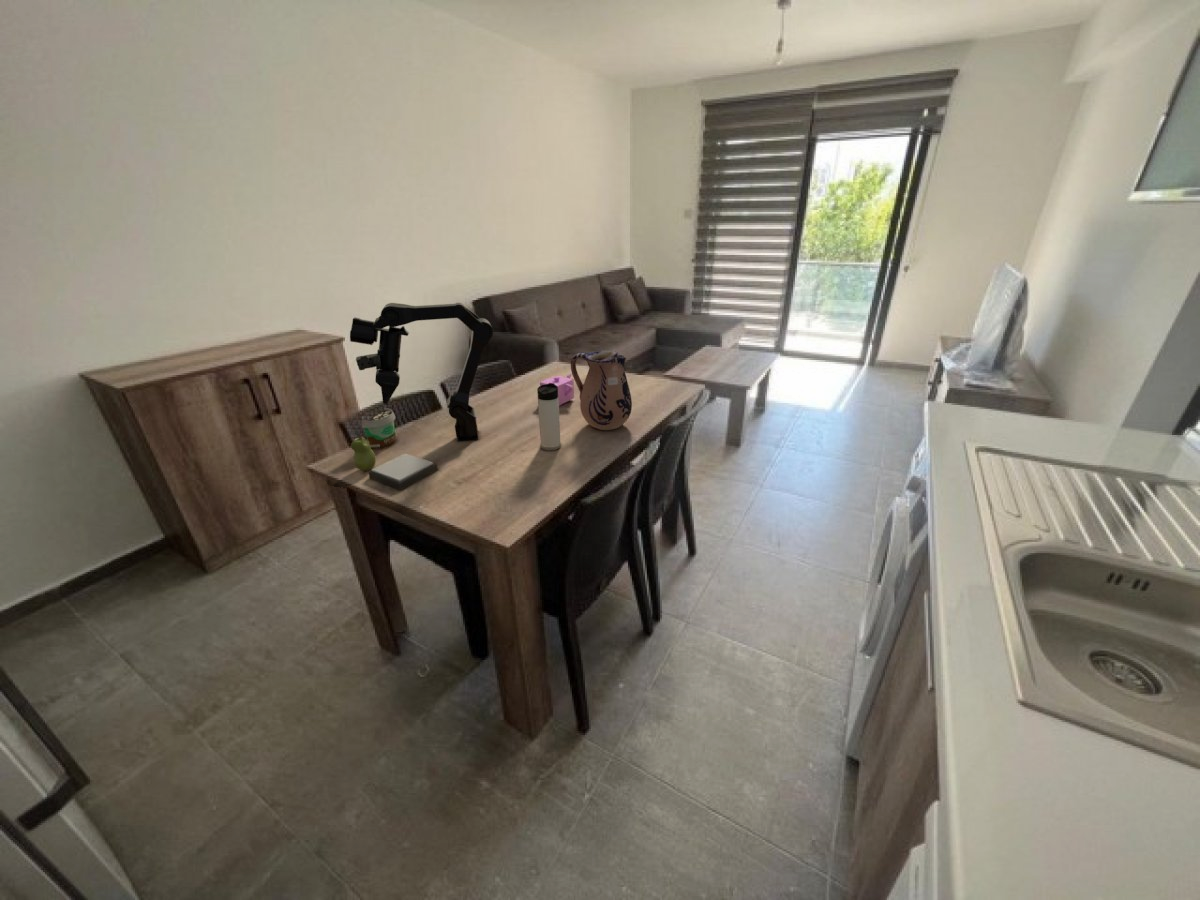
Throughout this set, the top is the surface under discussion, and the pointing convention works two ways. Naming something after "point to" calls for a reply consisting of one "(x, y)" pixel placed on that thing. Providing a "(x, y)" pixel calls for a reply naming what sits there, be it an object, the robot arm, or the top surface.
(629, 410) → the ceramic pitcher
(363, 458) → the pear
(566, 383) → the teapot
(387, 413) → the food container
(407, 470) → the kitchen scale
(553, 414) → the travel mug
